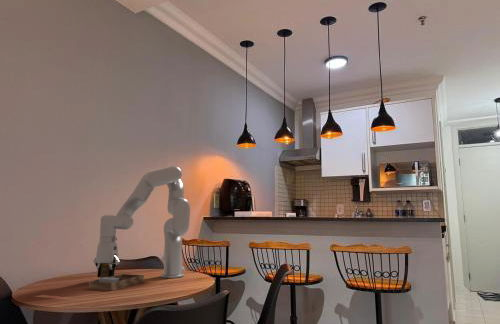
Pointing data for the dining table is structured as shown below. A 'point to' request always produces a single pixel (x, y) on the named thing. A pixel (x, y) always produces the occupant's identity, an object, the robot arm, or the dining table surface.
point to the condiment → (104, 270)
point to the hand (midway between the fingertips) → (105, 276)
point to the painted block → (108, 279)
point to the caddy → (123, 282)
